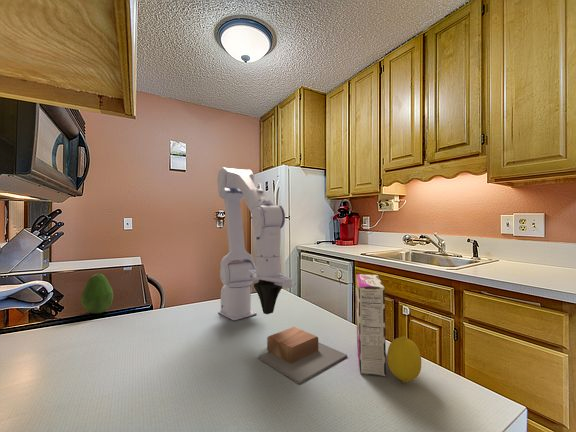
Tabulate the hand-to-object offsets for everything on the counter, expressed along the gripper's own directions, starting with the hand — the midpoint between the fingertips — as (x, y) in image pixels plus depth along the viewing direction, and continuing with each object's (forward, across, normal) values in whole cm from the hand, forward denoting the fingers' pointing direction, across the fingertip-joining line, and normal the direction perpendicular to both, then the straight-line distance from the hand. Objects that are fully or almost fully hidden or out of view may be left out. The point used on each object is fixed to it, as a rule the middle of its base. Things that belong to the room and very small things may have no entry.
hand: (268, 312), depth 66 cm
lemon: (+6, +30, +7) cm, 31 cm away
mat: (+6, +12, 0) cm, 13 cm away
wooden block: (+4, +5, 0) cm, 7 cm away
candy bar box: (+6, +22, +9) cm, 24 cm away
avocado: (+7, -49, -27) cm, 57 cm away
